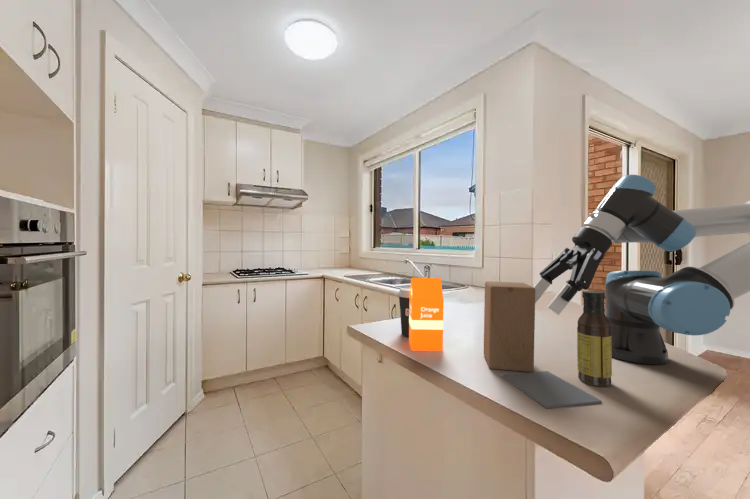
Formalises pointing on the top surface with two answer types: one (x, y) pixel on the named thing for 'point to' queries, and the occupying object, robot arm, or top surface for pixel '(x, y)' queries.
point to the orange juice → (426, 314)
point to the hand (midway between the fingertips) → (540, 305)
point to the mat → (550, 389)
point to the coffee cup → (404, 310)
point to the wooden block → (509, 326)
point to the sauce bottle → (594, 341)
